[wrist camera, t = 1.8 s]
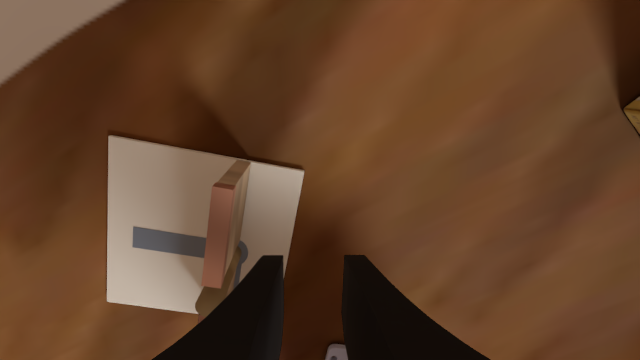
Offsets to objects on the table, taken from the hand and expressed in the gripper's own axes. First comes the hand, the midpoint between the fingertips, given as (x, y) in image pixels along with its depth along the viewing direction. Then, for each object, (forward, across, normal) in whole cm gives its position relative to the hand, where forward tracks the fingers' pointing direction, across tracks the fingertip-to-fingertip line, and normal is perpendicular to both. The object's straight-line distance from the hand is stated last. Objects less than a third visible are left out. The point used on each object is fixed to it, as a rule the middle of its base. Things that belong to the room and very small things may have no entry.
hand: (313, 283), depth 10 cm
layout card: (+10, +7, +4) cm, 12 cm away
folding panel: (+10, +4, +1) cm, 10 cm away
